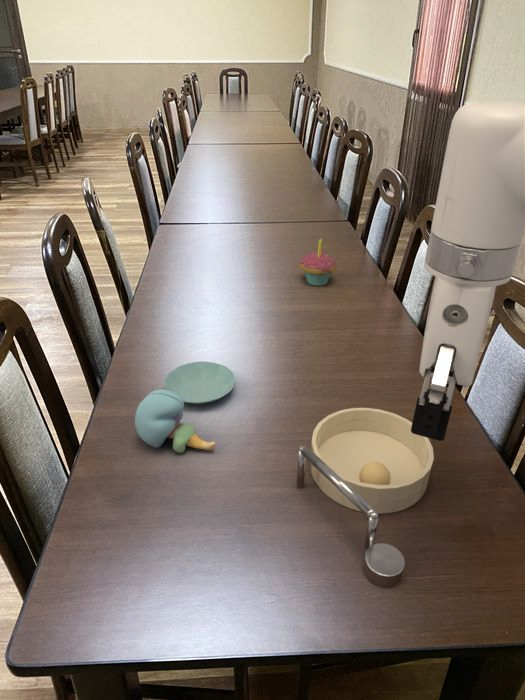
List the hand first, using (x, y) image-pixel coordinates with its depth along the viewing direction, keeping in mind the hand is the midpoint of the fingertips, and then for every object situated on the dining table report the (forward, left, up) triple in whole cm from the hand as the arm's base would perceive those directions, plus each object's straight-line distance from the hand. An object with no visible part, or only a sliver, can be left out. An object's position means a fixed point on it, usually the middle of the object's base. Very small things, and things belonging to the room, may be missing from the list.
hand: (434, 408), depth 57 cm
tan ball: (+7, -1, -18) cm, 19 cm away
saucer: (+39, +8, -19) cm, 44 cm away
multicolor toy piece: (+29, +17, -19) cm, 39 cm away
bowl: (+10, -3, -19) cm, 21 cm away
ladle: (+4, +7, -19) cm, 20 cm away
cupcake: (+64, -37, -19) cm, 77 cm away
